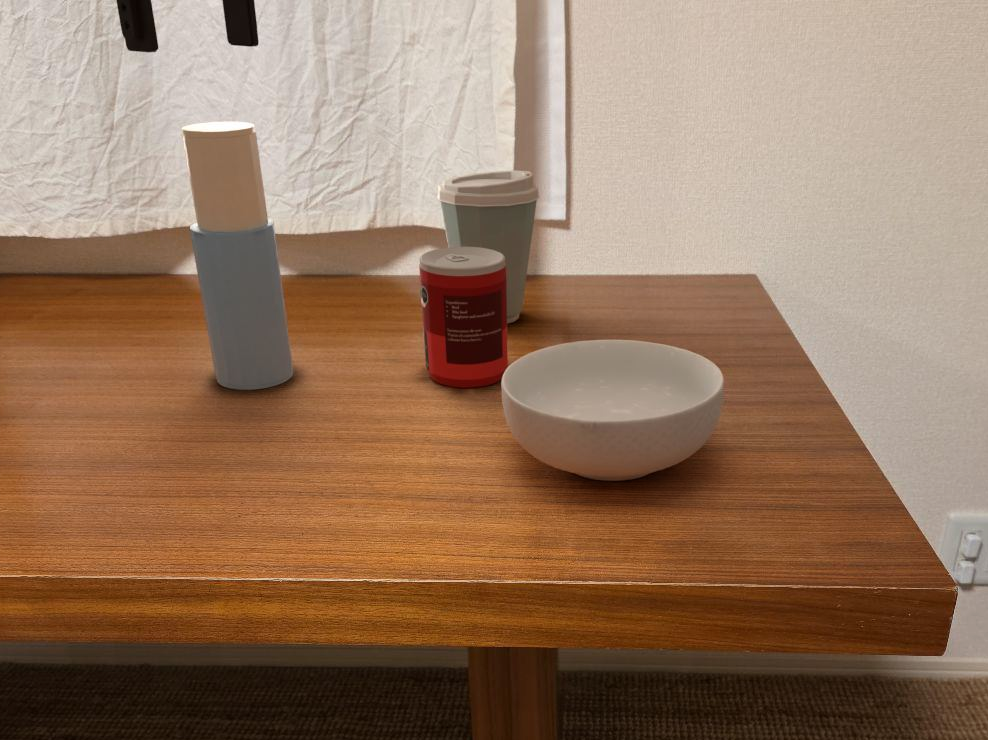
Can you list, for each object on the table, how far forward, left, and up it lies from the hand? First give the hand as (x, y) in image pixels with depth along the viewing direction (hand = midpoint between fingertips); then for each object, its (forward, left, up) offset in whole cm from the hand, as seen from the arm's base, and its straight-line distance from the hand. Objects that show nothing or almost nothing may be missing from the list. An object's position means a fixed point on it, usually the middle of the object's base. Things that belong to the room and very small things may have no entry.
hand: (195, 48), depth 81 cm
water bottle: (+1, 0, -28) cm, 28 cm away
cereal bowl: (+5, -37, -28) cm, 47 cm away
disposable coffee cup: (+28, -7, -28) cm, 40 cm away
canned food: (+13, -16, -28) cm, 35 cm away
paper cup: (+1, 0, -14) cm, 14 cm away
